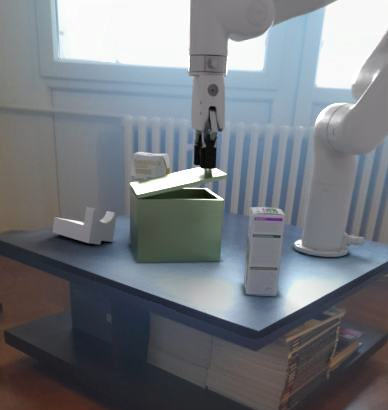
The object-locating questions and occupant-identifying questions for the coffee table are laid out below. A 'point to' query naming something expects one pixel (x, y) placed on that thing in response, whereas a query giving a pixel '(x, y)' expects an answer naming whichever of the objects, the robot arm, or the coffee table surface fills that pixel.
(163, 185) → the bin lid
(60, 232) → the bracket
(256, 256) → the syrup box
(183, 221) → the trash bin
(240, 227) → the coffee table surface
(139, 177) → the juice carton
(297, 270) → the coffee table surface
